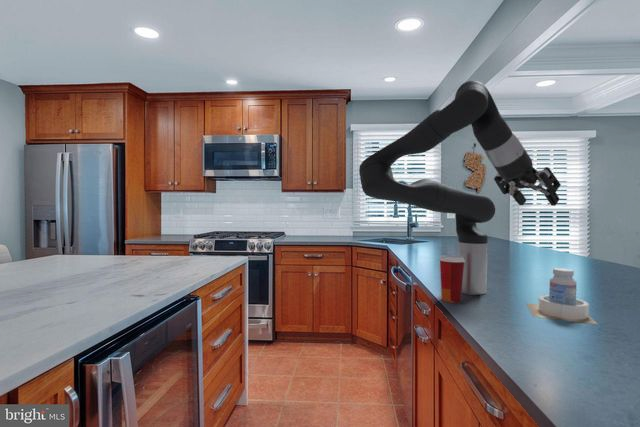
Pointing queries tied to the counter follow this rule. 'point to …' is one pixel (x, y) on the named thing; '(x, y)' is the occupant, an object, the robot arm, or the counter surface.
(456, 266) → the paper cup
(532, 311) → the mat
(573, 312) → the dish
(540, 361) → the counter surface
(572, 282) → the pill bottle
